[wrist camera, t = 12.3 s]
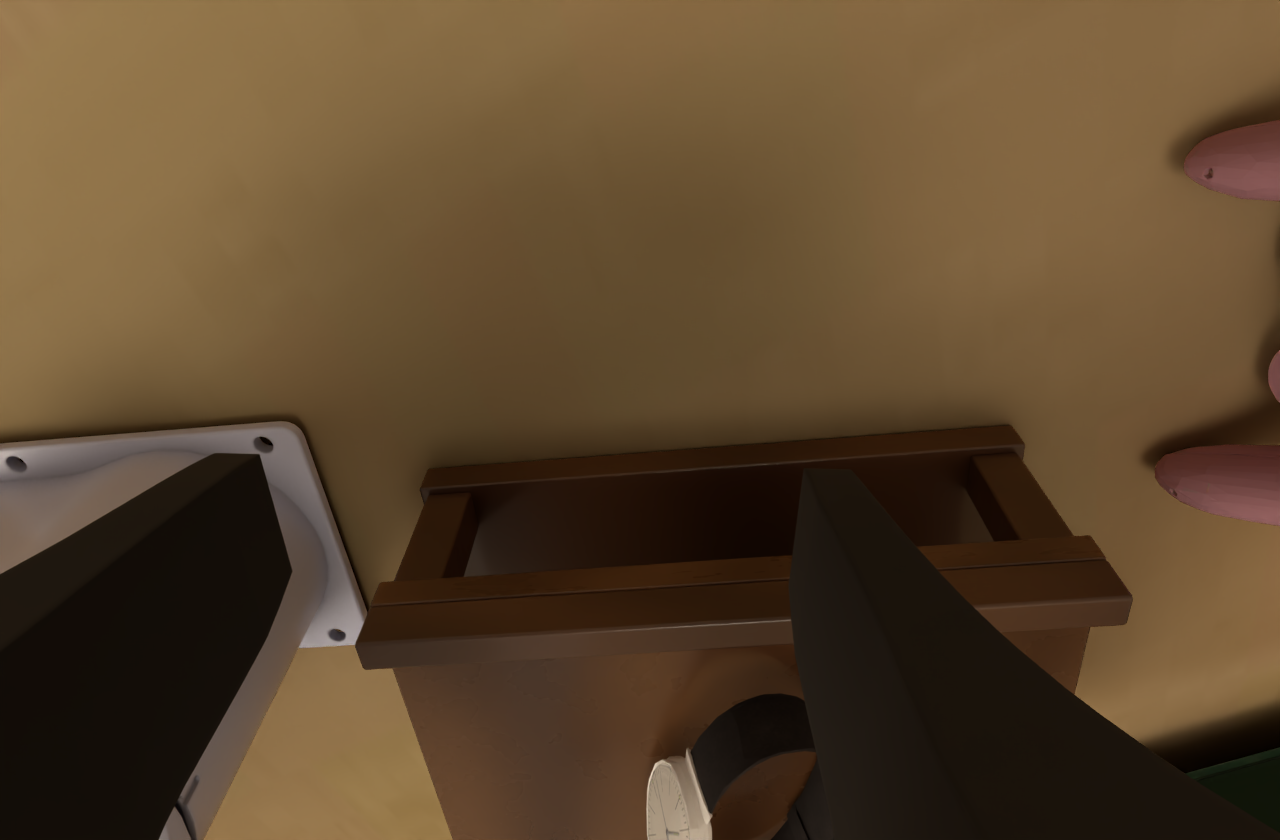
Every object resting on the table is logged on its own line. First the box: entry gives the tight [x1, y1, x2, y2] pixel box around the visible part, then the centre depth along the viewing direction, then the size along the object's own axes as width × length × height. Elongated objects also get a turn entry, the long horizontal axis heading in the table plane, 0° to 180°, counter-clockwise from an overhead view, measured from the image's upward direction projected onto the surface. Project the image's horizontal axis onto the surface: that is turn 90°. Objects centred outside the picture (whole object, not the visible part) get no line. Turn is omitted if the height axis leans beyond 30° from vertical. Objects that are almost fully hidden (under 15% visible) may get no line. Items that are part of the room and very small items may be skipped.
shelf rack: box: [355, 425, 1133, 840], centre depth 23 cm, size 16×12×7 cm
